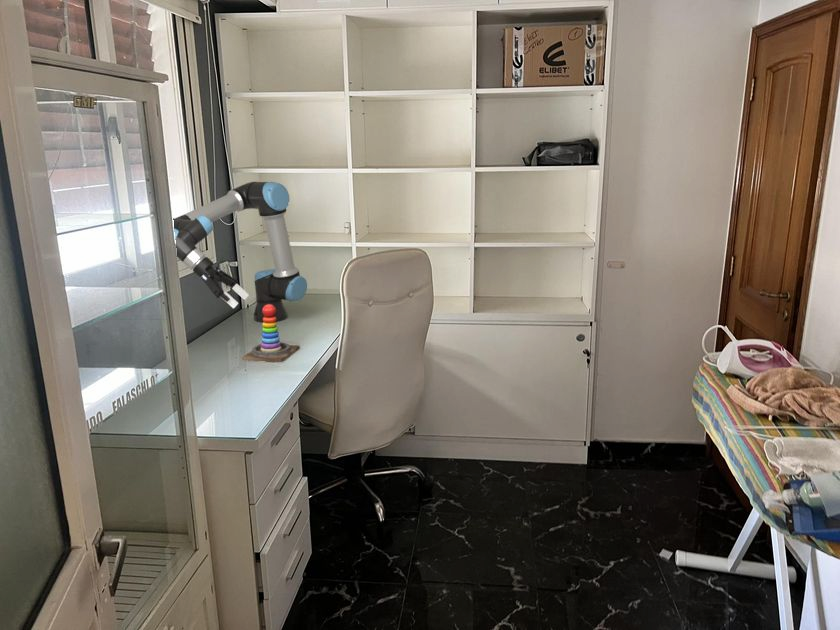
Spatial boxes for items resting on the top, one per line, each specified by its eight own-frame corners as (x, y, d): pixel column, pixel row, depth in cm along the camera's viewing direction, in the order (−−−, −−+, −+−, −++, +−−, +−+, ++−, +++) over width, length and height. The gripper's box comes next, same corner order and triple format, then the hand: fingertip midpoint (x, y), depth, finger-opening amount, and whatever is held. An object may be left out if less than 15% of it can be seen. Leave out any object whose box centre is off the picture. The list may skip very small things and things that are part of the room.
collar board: (263, 346, 261) (262, 339, 260) (299, 348, 258) (299, 341, 257) (242, 360, 244) (241, 353, 243) (281, 362, 241) (280, 356, 240)
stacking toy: (276, 354, 246) (273, 307, 241) (257, 353, 248) (253, 306, 243) (284, 348, 253) (281, 302, 249) (266, 347, 255) (262, 302, 250)
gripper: (204, 264, 255) (245, 300, 258) (179, 276, 231) (224, 316, 234) (216, 250, 254) (257, 287, 257) (192, 262, 230) (237, 302, 233)
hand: (241, 301), depth 246 cm, fingers open, 13 cm apart
